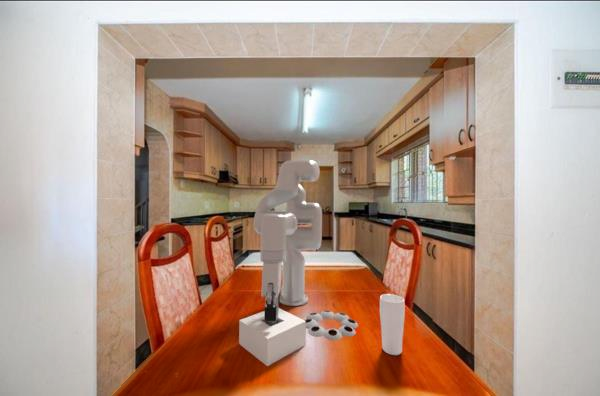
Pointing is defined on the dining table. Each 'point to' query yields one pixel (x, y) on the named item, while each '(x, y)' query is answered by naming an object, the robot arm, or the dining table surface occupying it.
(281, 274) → the robot arm
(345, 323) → the round palette
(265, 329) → the socket block
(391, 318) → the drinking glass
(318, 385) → the dining table surface
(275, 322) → the pin
